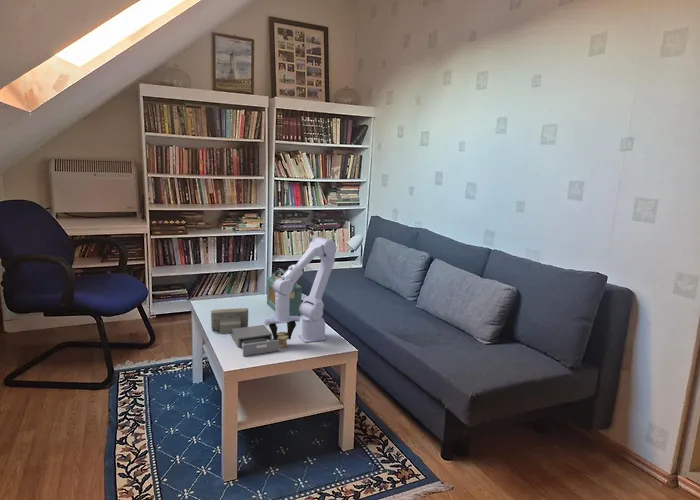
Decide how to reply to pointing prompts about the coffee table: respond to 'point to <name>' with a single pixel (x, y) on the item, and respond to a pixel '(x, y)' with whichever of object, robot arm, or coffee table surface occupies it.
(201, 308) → the coffee table surface
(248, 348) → the grey drawer
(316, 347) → the coffee table surface
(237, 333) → the player housing
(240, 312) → the digital clock
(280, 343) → the tan wooden block
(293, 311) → the radio
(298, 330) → the coffee table surface
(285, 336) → the disc
